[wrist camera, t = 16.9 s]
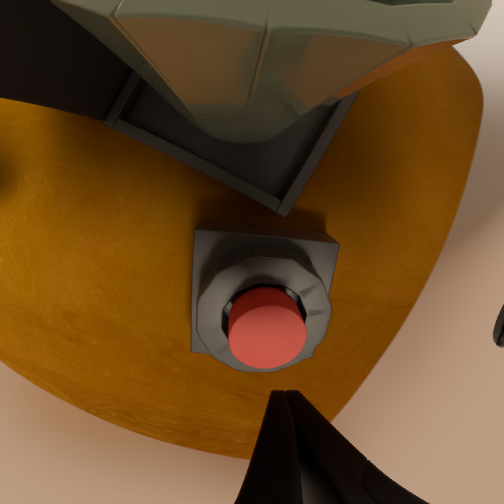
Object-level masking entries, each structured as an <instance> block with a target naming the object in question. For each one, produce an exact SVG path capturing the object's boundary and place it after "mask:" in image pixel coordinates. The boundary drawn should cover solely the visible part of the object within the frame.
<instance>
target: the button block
mask: <svg viewBox="0 0 504 504" xmlns="http://www.w3.org/2000/svg"><path fill="white" fill-rule="evenodd" d="M339 246H340V243H339V242H337V241H336V240H335V239H333V238H332V237H331V236H330V235H328V234H327V233H323V232H315V231H306V230H297V229H288V228H279V227H270V226H260V225H250V224H240V223H229V222H218V221H207V220H200V221H199V223H198V225H197V226H196V228H195V230H194V244H193V263H192V289H191V352H194V353H204V354H211V356H213V358H215V359H217V360H219V361H221V362H223V363H224V364H226V365H228V366H230V367H232V368H234V369H236V370H238V371H247V372H275V371H278V370H281V369H283V368H286V367H288V366H291V365H294V364H296V363H299V362H301V361H302V360H303V359H304V358H312V356H313V353H314V349H315V347H316V346H317V345H318V344H319V343H320V342H321V341H322V340H323V338H325V334H326V331H327V327H328V323H329V320H330V316H331V312H332V306H331V303H330V300H329V297H328V296H329V292H330V288H331V283H332V279H333V274H334V270H335V265H336V260H337V256H338V251H339ZM258 287H273V288H277V289H280V290H282V291H284V292H286V293H287V294H289V295H290V296H291V297H292V298H293V300H294V301H295V303H296V305H297V307H298V309H299V312H300V314H301V316H302V319H303V321H304V323H305V326H306V331H307V336H306V341H305V344H304V346H303V348H302V350H301V351H300V353H299V354H298V355H297V356H296V357H295V358H294V359H292V360H291V361H289V362H288V363H286V364H284V365H281V366H278V367H274V368H267V369H262V368H254V367H251V366H248V365H246V364H244V363H242V362H241V361H239V360H238V359H237V358H236V357H235V356H234V355H233V353H232V352H231V350H230V347H229V343H228V324H229V312H230V309H231V307H232V305H233V303H234V302H235V300H236V299H237V298H238V297H239V296H241V295H242V294H243V293H245V292H247V291H249V290H251V289H254V288H258Z"/></svg>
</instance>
